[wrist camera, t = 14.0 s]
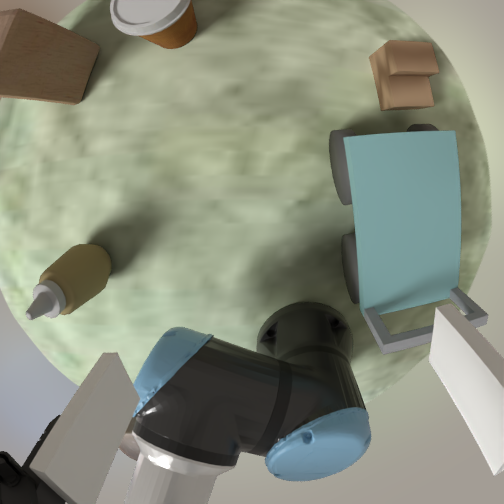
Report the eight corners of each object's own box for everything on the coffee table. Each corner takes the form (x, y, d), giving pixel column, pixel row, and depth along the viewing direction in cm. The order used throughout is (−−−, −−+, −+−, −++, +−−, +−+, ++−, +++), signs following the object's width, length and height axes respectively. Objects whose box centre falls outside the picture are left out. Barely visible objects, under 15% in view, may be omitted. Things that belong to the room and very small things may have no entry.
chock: (417, 109, 36) (446, 103, 28) (380, 110, 36) (404, 104, 29) (406, 57, 33) (431, 42, 26) (368, 57, 34) (389, 40, 26)
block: (104, 45, 34) (19, 5, 15) (81, 106, 37) (-15, 96, 18) (58, 42, 34) (-26, 14, 15) (38, 98, 37) (-53, 92, 18)
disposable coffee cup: (217, 43, 34) (200, 8, 23) (153, 69, 36) (115, 46, 24) (197, -6, 32) (176, -48, 20) (137, 20, 33) (100, -12, 22)
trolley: (421, 270, 43) (484, 331, 26) (344, 286, 45) (382, 362, 27) (412, 125, 37) (493, 119, 19) (325, 132, 38) (369, 120, 21)
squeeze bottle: (89, 226, 43) (14, 269, 26) (127, 260, 45) (63, 318, 28) (69, 262, 45) (1, 312, 28) (104, 294, 47) (45, 356, 30)
